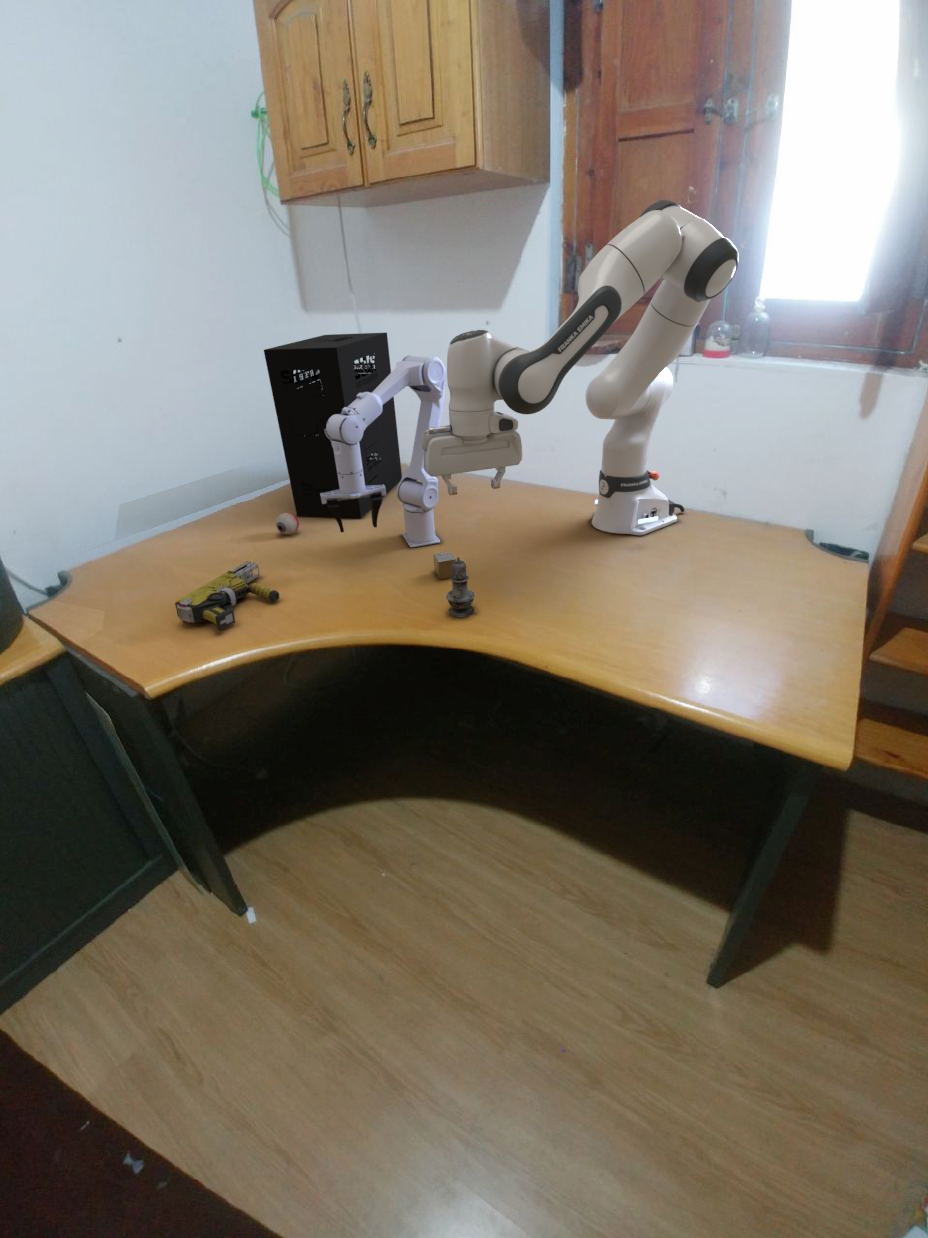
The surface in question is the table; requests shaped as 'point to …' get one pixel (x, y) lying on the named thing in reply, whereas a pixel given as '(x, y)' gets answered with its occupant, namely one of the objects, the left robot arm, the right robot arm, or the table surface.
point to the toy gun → (222, 597)
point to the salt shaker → (460, 591)
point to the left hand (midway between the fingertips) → (358, 528)
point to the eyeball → (287, 523)
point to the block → (443, 564)
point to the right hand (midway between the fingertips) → (474, 491)
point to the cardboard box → (319, 402)
